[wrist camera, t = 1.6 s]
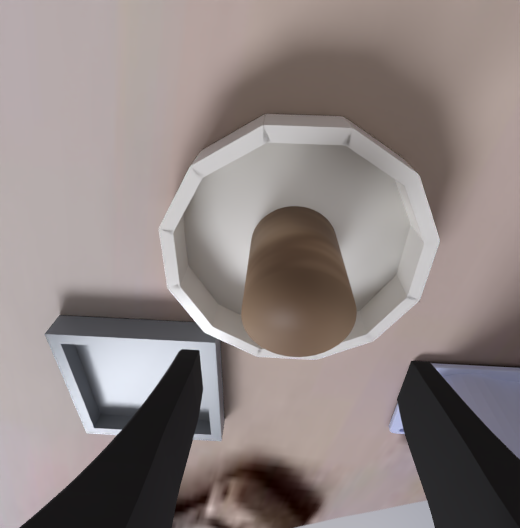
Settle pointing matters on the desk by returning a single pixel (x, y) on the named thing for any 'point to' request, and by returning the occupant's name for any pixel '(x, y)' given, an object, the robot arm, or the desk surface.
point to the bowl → (305, 195)
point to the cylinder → (297, 285)
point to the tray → (131, 368)
